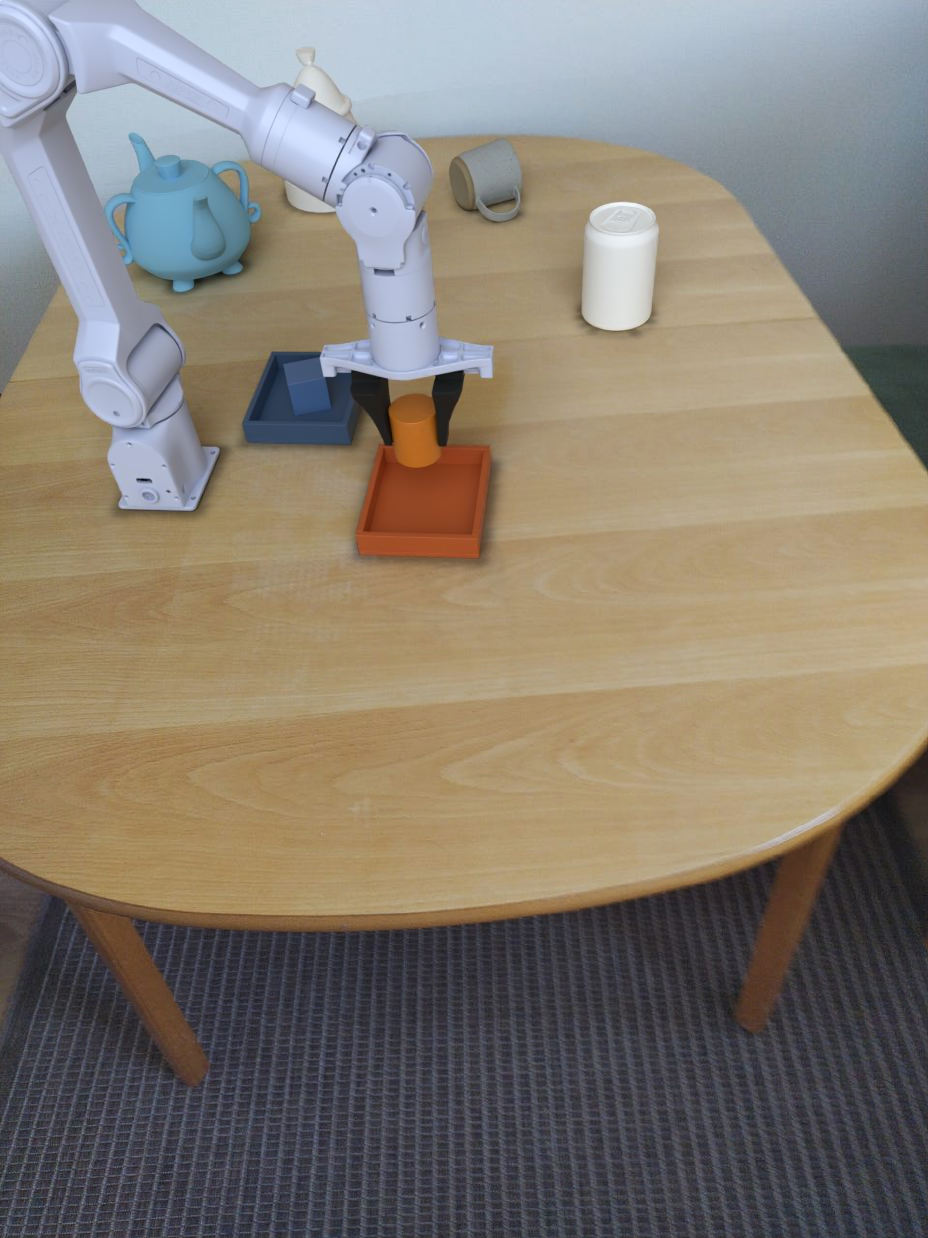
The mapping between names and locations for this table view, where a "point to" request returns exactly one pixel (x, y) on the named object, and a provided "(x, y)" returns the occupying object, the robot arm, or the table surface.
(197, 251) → the teapot
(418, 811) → the table surface
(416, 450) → the amber cylinder
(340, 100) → the honey pot
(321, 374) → the blue block
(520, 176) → the ceramic mug
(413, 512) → the orange tray
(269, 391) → the blue tray
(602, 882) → the table surface
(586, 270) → the beverage can
